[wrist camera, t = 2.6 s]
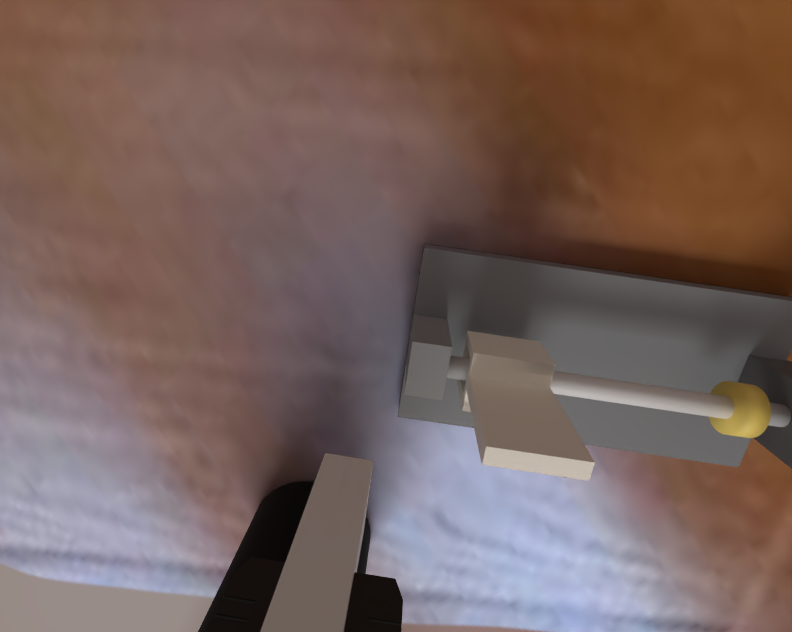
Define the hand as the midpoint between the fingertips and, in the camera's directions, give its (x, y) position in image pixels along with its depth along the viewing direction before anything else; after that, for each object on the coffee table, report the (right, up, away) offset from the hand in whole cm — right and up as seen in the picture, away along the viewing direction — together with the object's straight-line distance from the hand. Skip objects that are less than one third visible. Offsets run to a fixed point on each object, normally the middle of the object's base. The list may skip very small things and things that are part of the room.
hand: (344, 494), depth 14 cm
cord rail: (+13, +3, +15) cm, 20 cm away
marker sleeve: (+7, +3, +11) cm, 14 cm away
